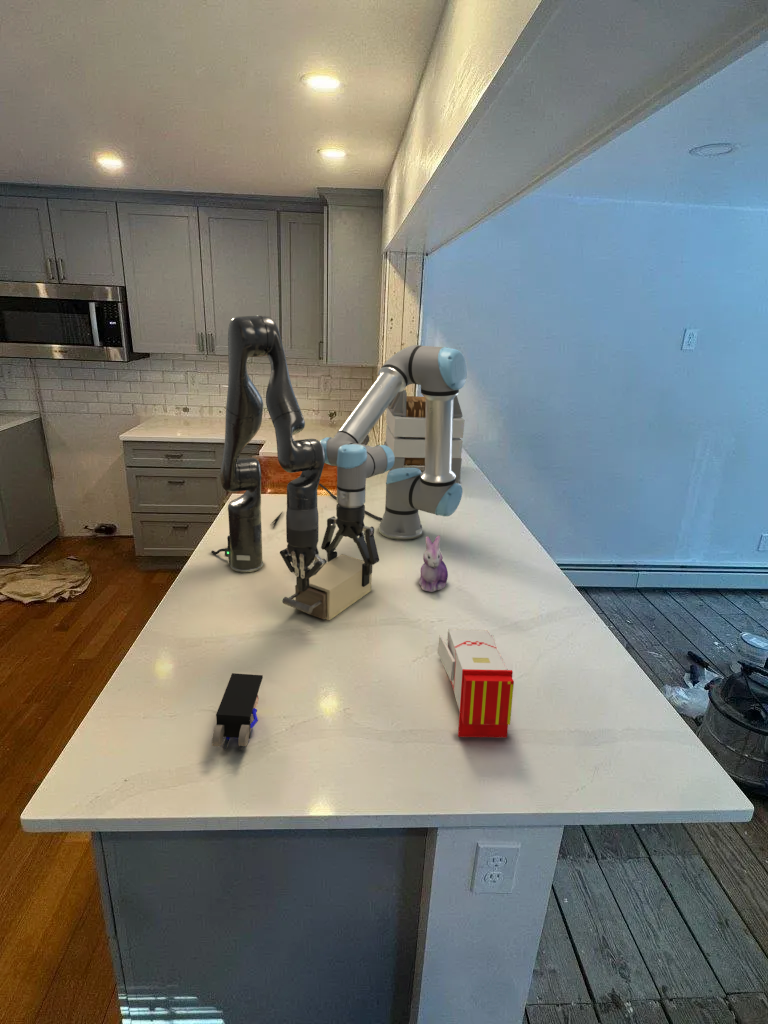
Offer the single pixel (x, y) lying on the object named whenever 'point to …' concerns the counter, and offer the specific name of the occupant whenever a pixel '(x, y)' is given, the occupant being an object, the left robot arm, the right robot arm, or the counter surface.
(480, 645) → the toy
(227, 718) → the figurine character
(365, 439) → the fossil
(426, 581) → the figurine
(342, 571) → the cabinet
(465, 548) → the counter surface
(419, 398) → the grey slatted crate
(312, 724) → the counter surface
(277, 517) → the feather
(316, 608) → the drawer
